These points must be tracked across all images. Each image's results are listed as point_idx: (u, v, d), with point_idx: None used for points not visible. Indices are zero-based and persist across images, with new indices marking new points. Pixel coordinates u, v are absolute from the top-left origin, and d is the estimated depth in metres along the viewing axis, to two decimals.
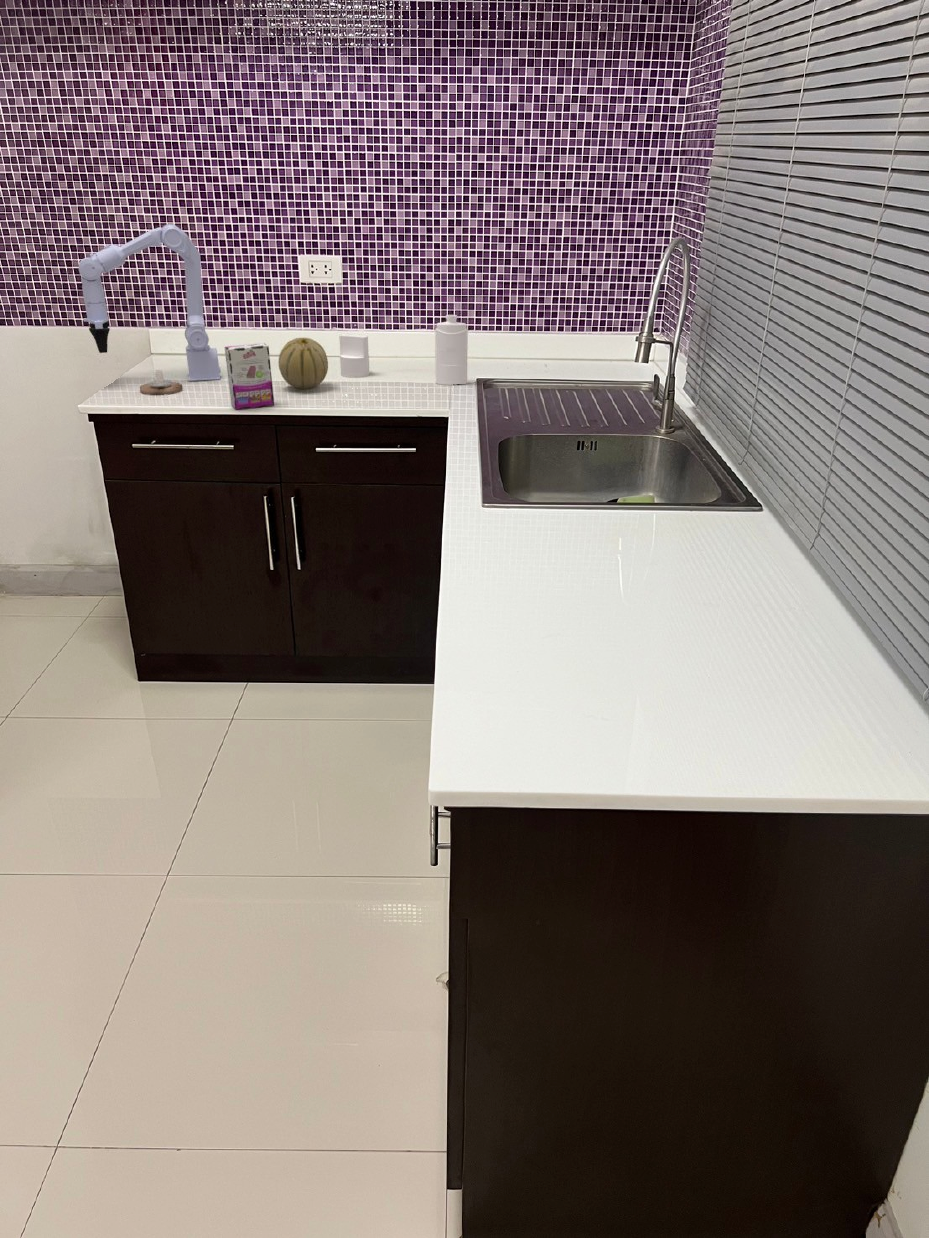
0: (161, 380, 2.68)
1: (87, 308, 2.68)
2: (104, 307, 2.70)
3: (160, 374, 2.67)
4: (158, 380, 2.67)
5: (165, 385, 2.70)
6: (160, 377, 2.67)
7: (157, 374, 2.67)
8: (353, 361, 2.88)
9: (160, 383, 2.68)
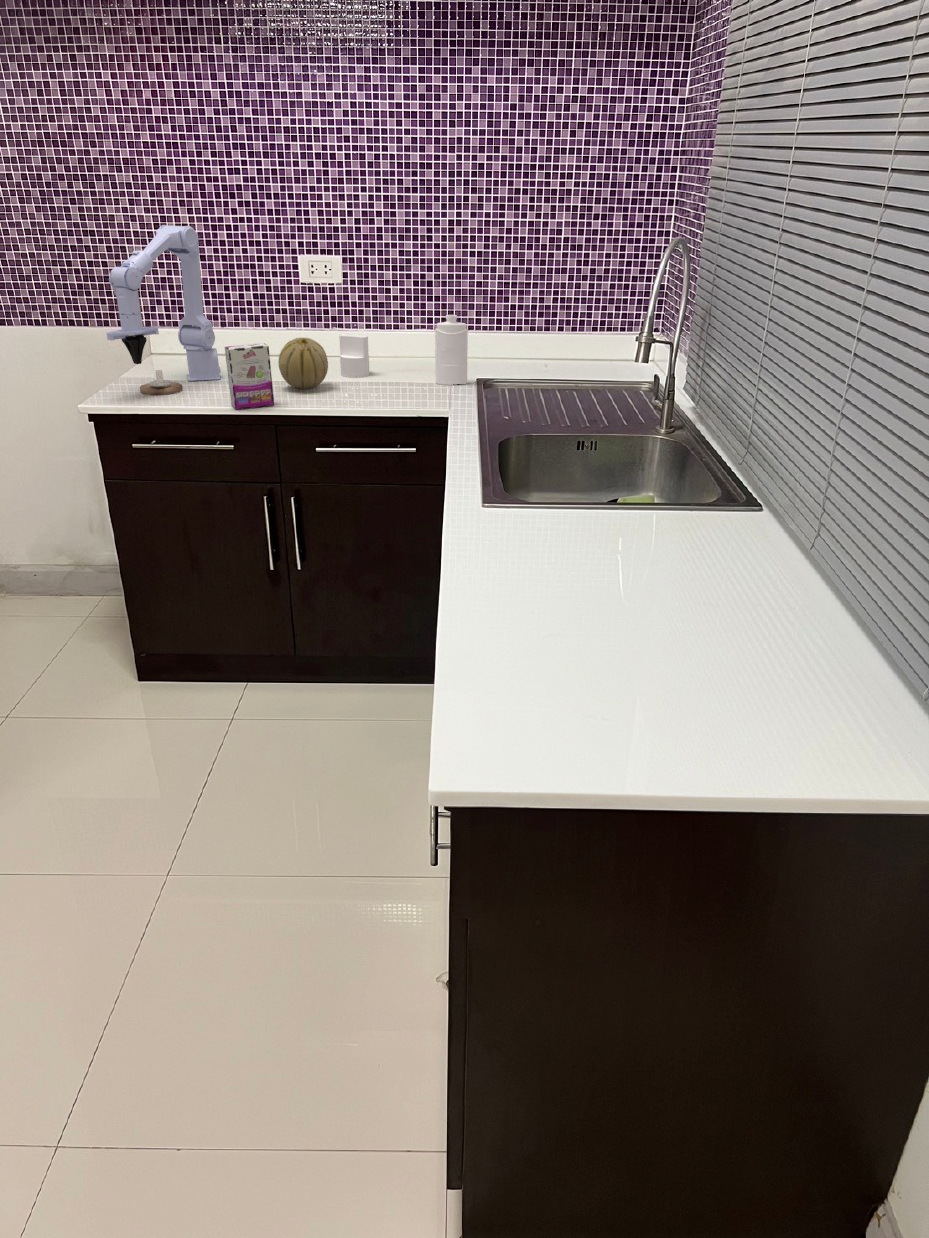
0: (161, 380, 2.68)
1: (140, 318, 2.56)
2: None
3: (160, 374, 2.67)
4: (158, 380, 2.67)
5: (165, 385, 2.70)
6: (160, 377, 2.67)
7: (157, 374, 2.67)
8: (353, 361, 2.88)
9: (160, 383, 2.68)
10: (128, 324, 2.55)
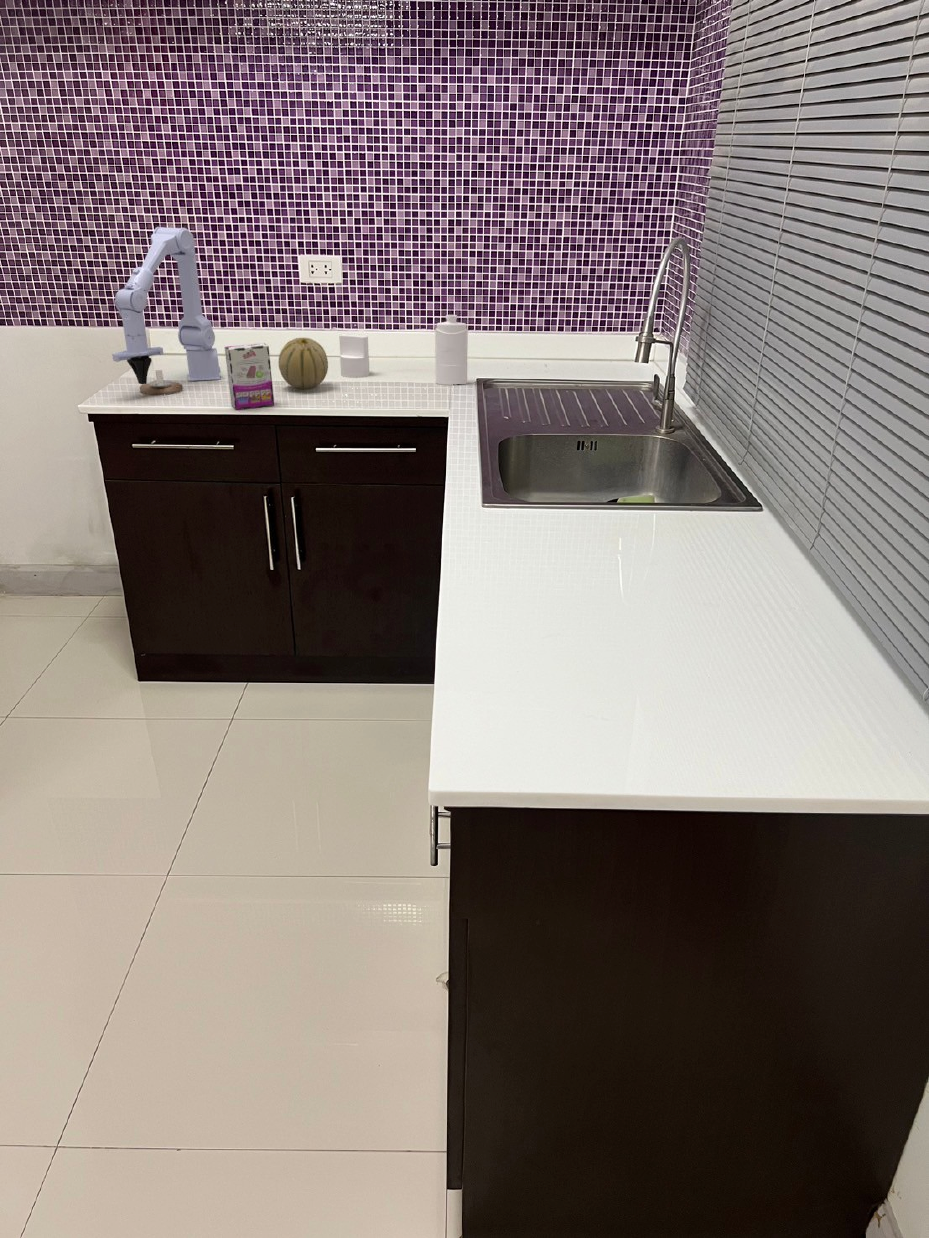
0: (161, 380, 2.68)
1: (145, 340, 2.59)
2: None
3: (160, 374, 2.67)
4: (158, 380, 2.67)
5: (165, 385, 2.70)
6: (160, 377, 2.67)
7: (157, 374, 2.67)
8: (353, 361, 2.88)
9: (160, 383, 2.68)
10: (133, 346, 2.58)
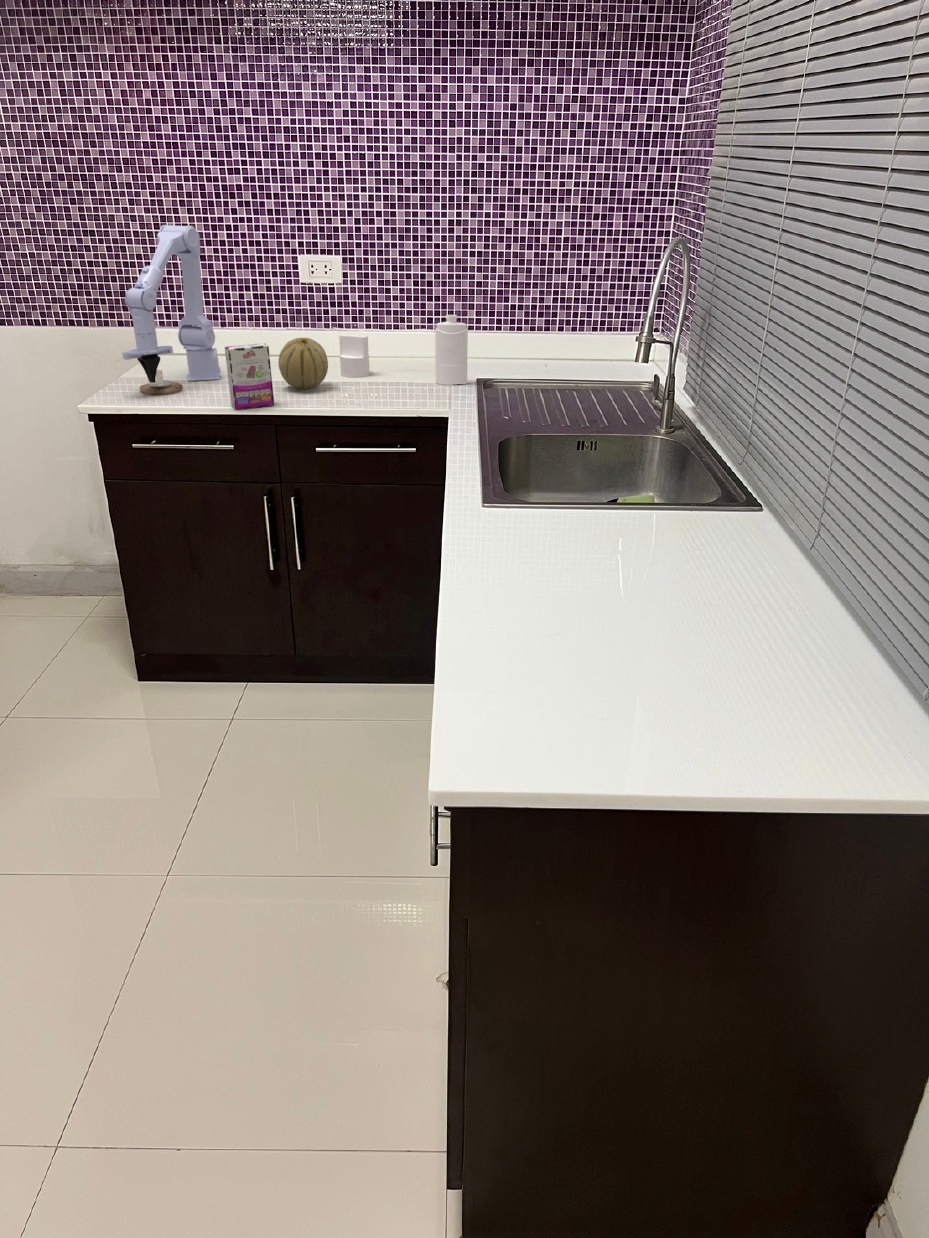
0: (161, 380, 2.68)
1: (155, 338, 2.61)
2: None
3: (160, 374, 2.67)
4: (158, 380, 2.67)
5: (165, 385, 2.70)
6: (160, 377, 2.67)
7: (157, 374, 2.67)
8: (353, 361, 2.88)
9: (160, 383, 2.68)
10: (143, 344, 2.60)
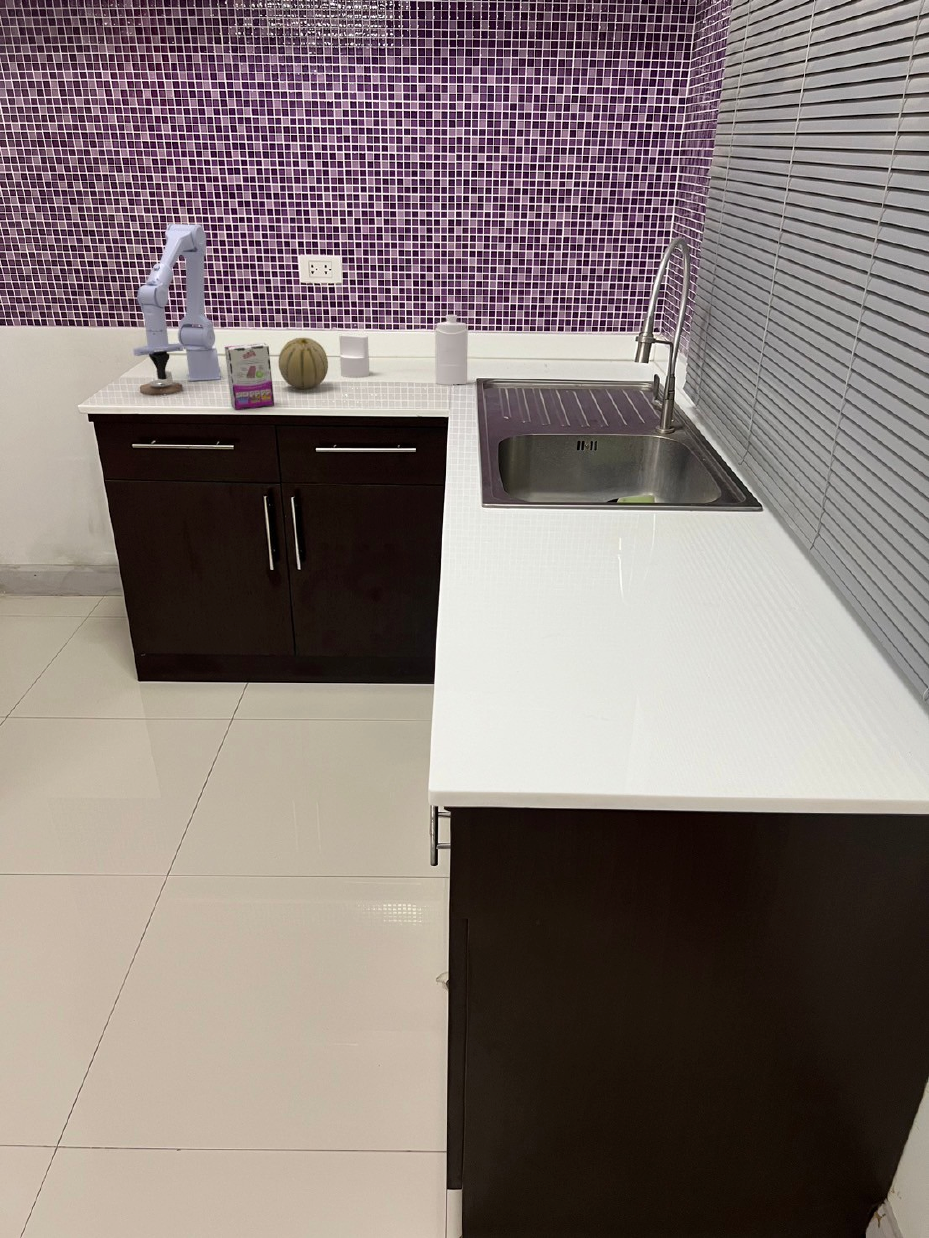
0: (170, 379, 2.69)
1: (166, 335, 2.63)
2: None
3: (169, 373, 2.68)
4: (168, 379, 2.69)
5: None
6: (170, 376, 2.69)
7: (167, 373, 2.68)
8: (353, 361, 2.88)
9: (170, 382, 2.69)
10: (155, 341, 2.61)
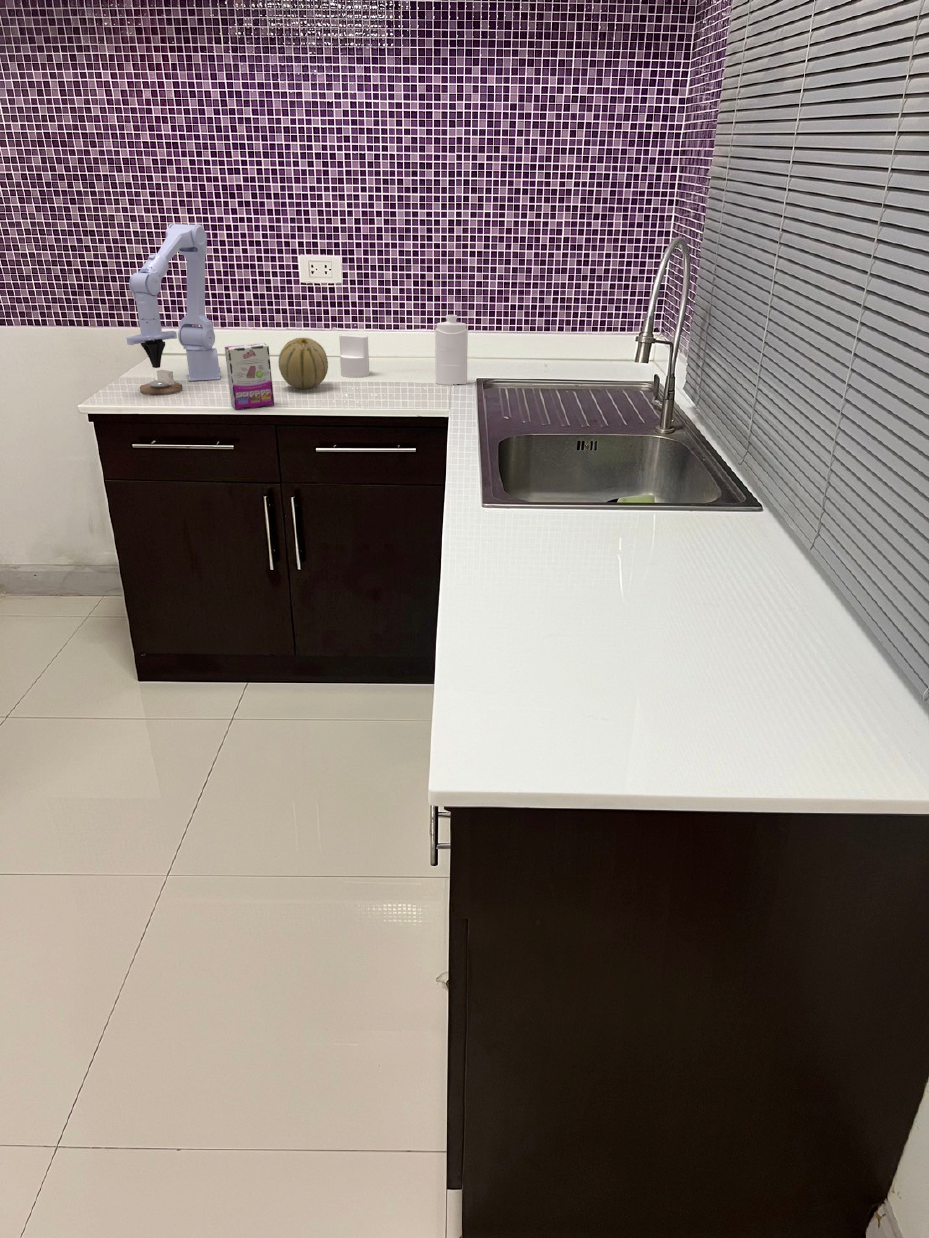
0: (172, 378, 2.70)
1: (159, 323, 2.61)
2: None
3: (171, 372, 2.69)
4: (170, 379, 2.69)
5: (170, 384, 2.72)
6: (171, 375, 2.69)
7: (169, 373, 2.68)
8: (353, 361, 2.88)
9: (171, 381, 2.70)
10: (148, 329, 2.59)
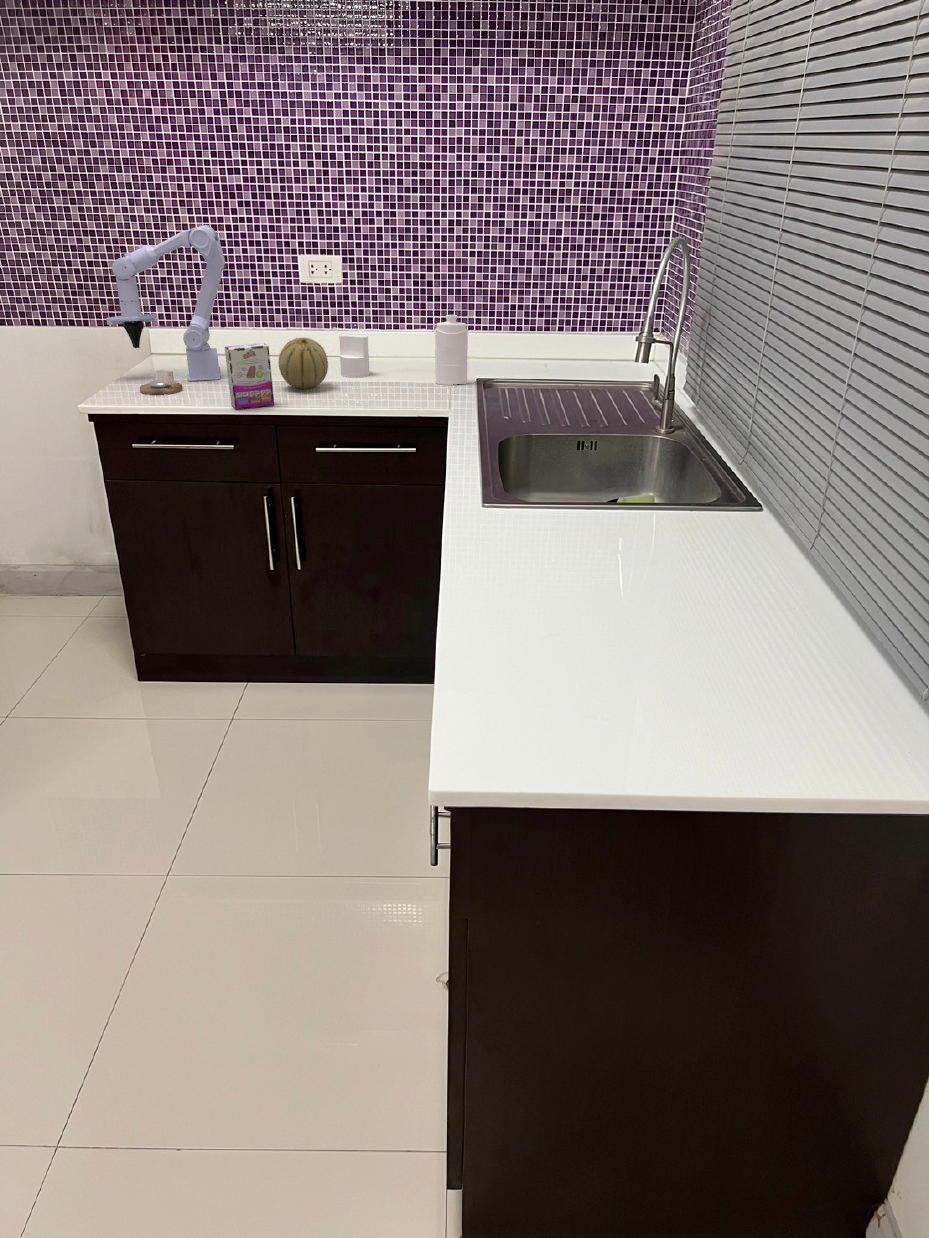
0: (172, 378, 2.70)
1: (137, 306, 2.76)
2: None
3: (171, 372, 2.69)
4: (170, 379, 2.69)
5: (170, 384, 2.72)
6: (171, 375, 2.69)
7: (169, 373, 2.68)
8: (353, 361, 2.88)
9: (171, 381, 2.70)
10: (126, 311, 2.75)
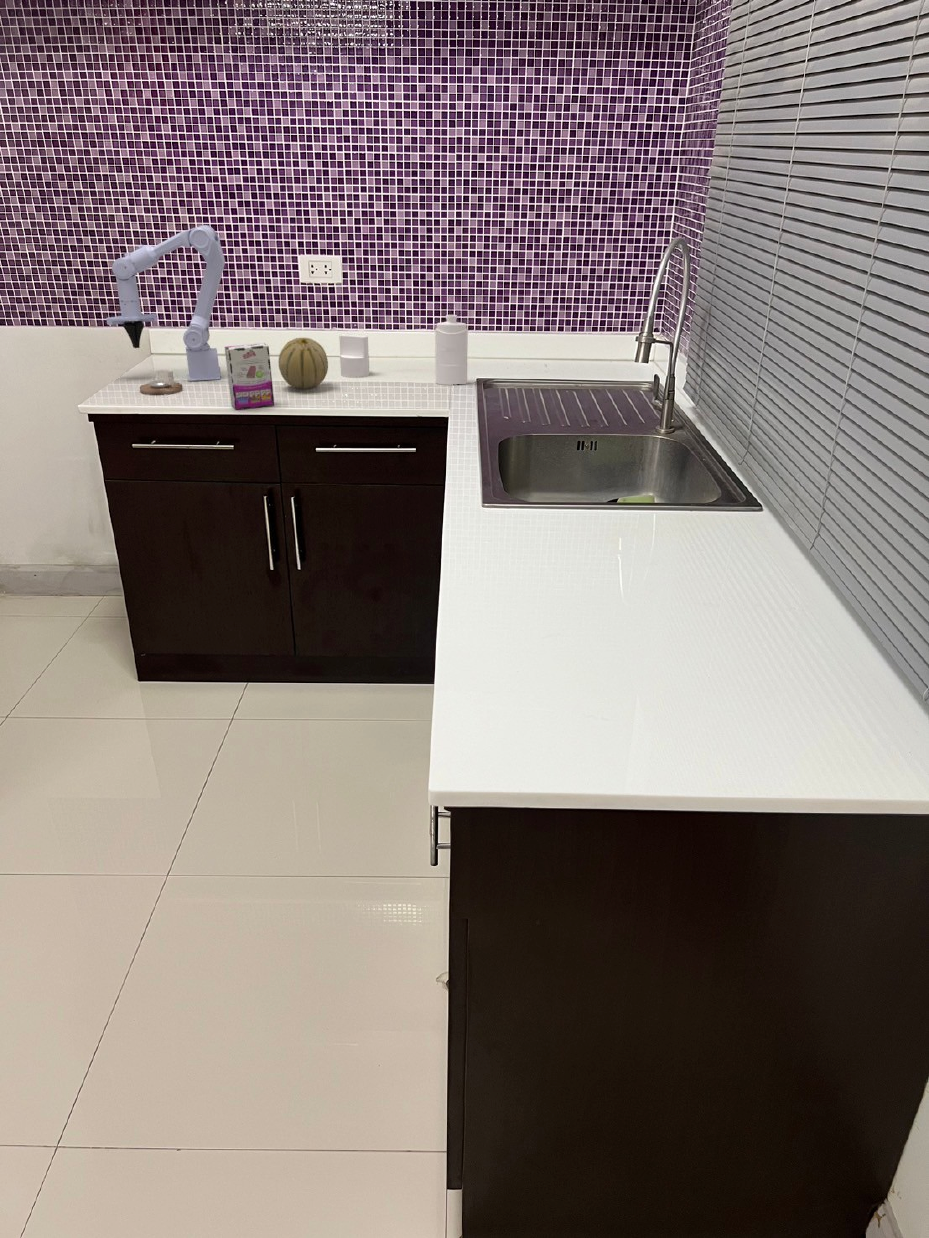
0: (172, 378, 2.70)
1: (137, 306, 2.76)
2: None
3: (171, 372, 2.69)
4: (170, 379, 2.69)
5: (170, 384, 2.72)
6: (171, 375, 2.69)
7: (169, 373, 2.68)
8: (353, 361, 2.88)
9: (171, 381, 2.70)
10: (126, 311, 2.75)
